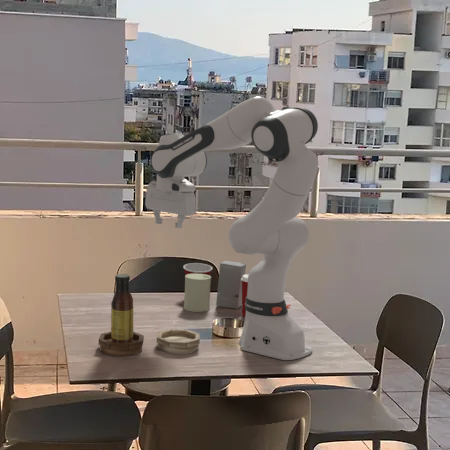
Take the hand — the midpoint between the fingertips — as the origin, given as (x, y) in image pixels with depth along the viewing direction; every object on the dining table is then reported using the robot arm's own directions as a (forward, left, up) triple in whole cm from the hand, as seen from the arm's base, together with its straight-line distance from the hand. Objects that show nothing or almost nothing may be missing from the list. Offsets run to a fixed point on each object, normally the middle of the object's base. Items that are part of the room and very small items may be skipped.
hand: (168, 225), depth 236 cm
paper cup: (-16, -25, -31) cm, 43 cm away
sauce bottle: (-15, +31, -29) cm, 45 cm away
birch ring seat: (-24, +17, -31) cm, 43 cm away
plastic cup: (+12, -27, -31) cm, 43 cm away
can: (+2, -17, -31) cm, 36 cm away
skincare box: (-3, -29, -31) cm, 43 cm away
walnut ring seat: (-15, +31, -31) cm, 46 cm away
